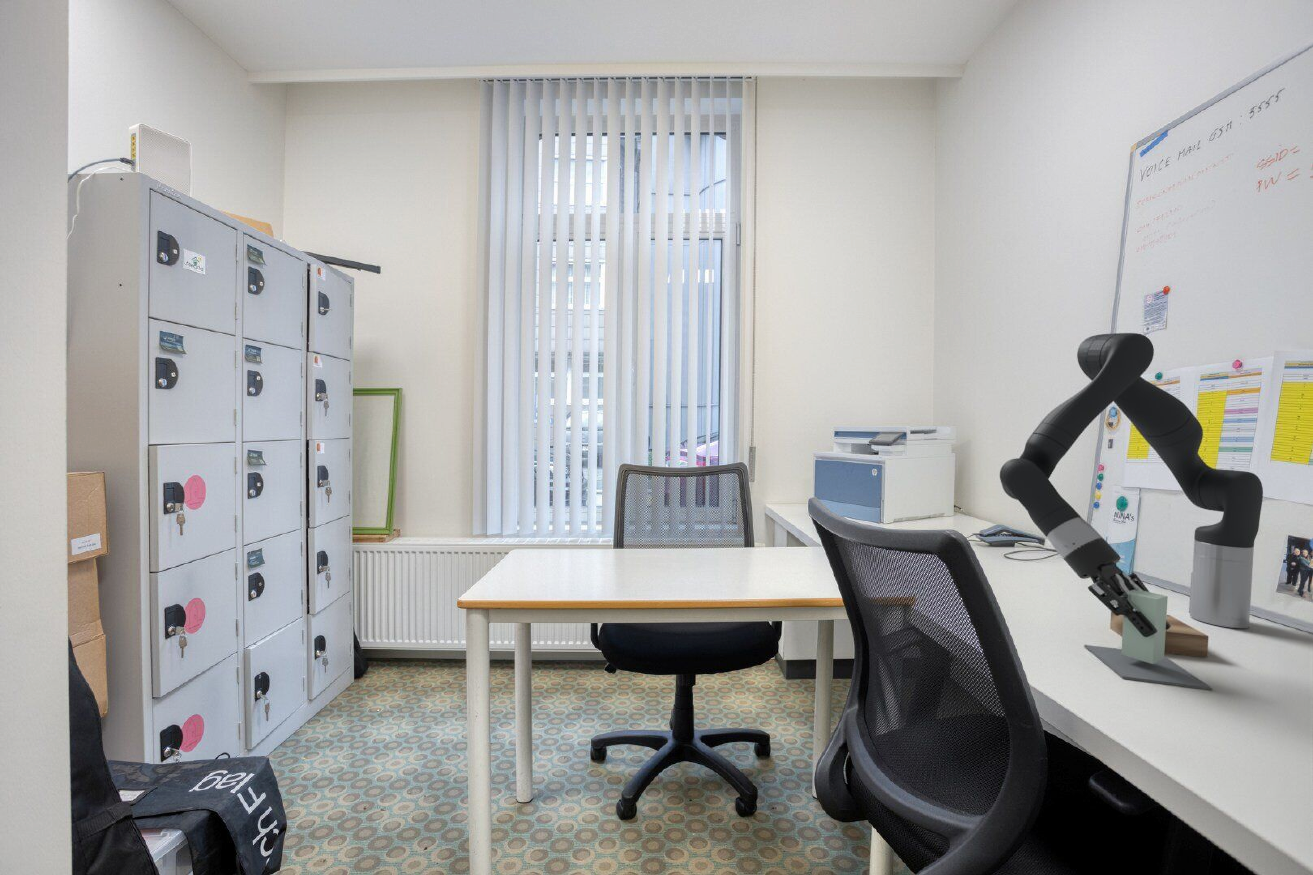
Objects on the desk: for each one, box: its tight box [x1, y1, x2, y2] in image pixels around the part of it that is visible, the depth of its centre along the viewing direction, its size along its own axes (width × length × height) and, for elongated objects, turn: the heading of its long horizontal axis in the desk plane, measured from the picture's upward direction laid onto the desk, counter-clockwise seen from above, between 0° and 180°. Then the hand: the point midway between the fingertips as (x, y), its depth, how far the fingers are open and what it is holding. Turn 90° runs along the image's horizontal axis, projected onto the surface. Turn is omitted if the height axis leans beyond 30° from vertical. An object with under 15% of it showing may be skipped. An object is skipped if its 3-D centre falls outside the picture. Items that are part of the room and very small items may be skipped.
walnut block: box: [1109, 610, 1209, 659], centre depth 111 cm, size 12×10×4 cm
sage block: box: [1121, 590, 1169, 664], centre depth 99 cm, size 4×4×11 cm
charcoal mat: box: [1083, 644, 1213, 691], centre depth 99 cm, size 14×12×1 cm
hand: (1158, 632), depth 97 cm, fingers open, 4 cm apart
